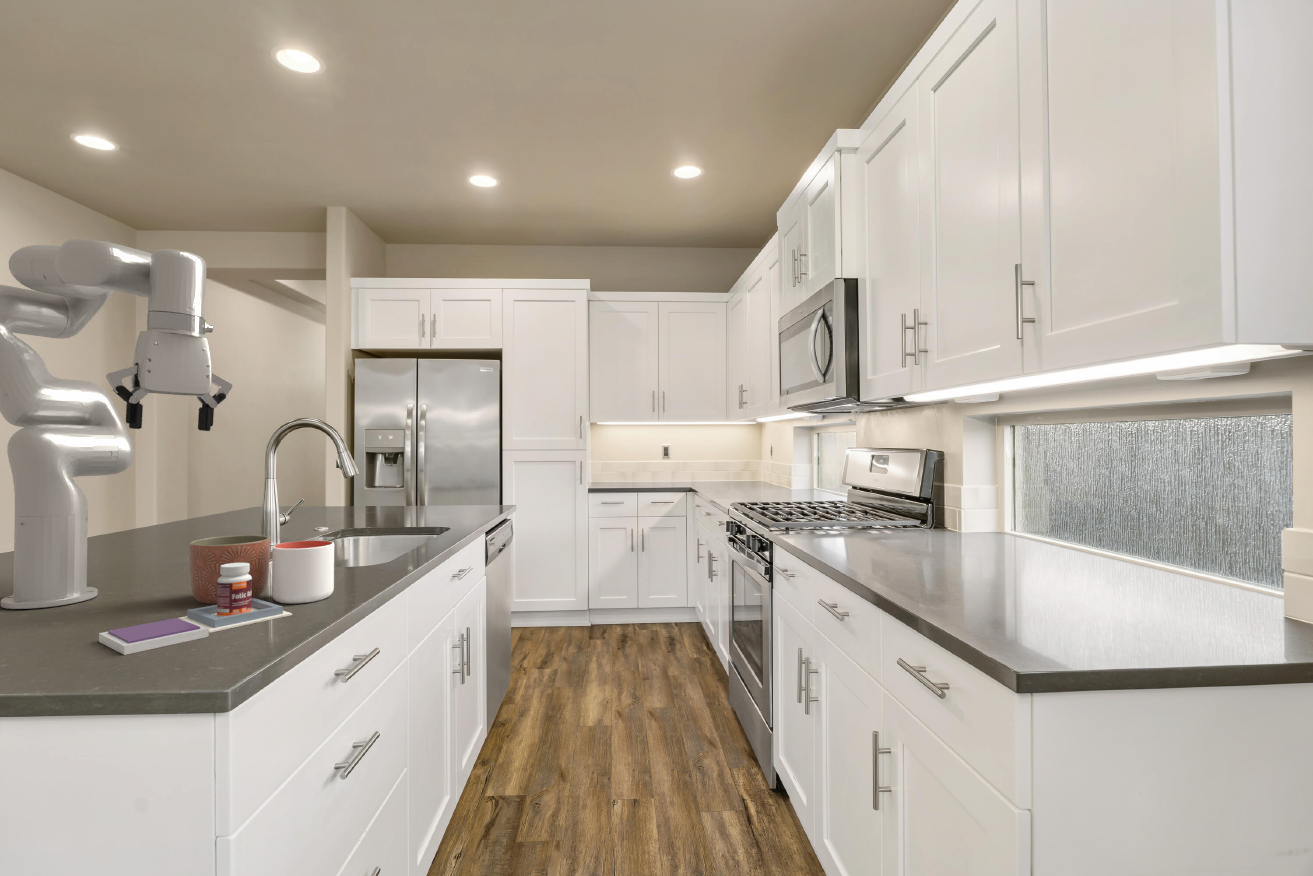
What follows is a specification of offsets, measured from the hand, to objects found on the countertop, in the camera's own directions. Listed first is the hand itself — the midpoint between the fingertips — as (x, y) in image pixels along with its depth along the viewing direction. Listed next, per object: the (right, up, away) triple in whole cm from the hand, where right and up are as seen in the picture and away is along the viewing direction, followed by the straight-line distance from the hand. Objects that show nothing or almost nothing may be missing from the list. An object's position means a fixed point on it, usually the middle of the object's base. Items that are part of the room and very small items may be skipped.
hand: (170, 429), depth 106 cm
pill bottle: (+11, -31, -1) cm, 33 cm away
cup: (+15, -31, +12) cm, 37 cm away
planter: (+3, -31, +11) cm, 33 cm away
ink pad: (+7, -31, -13) cm, 34 cm away
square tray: (+12, -31, -1) cm, 33 cm away
